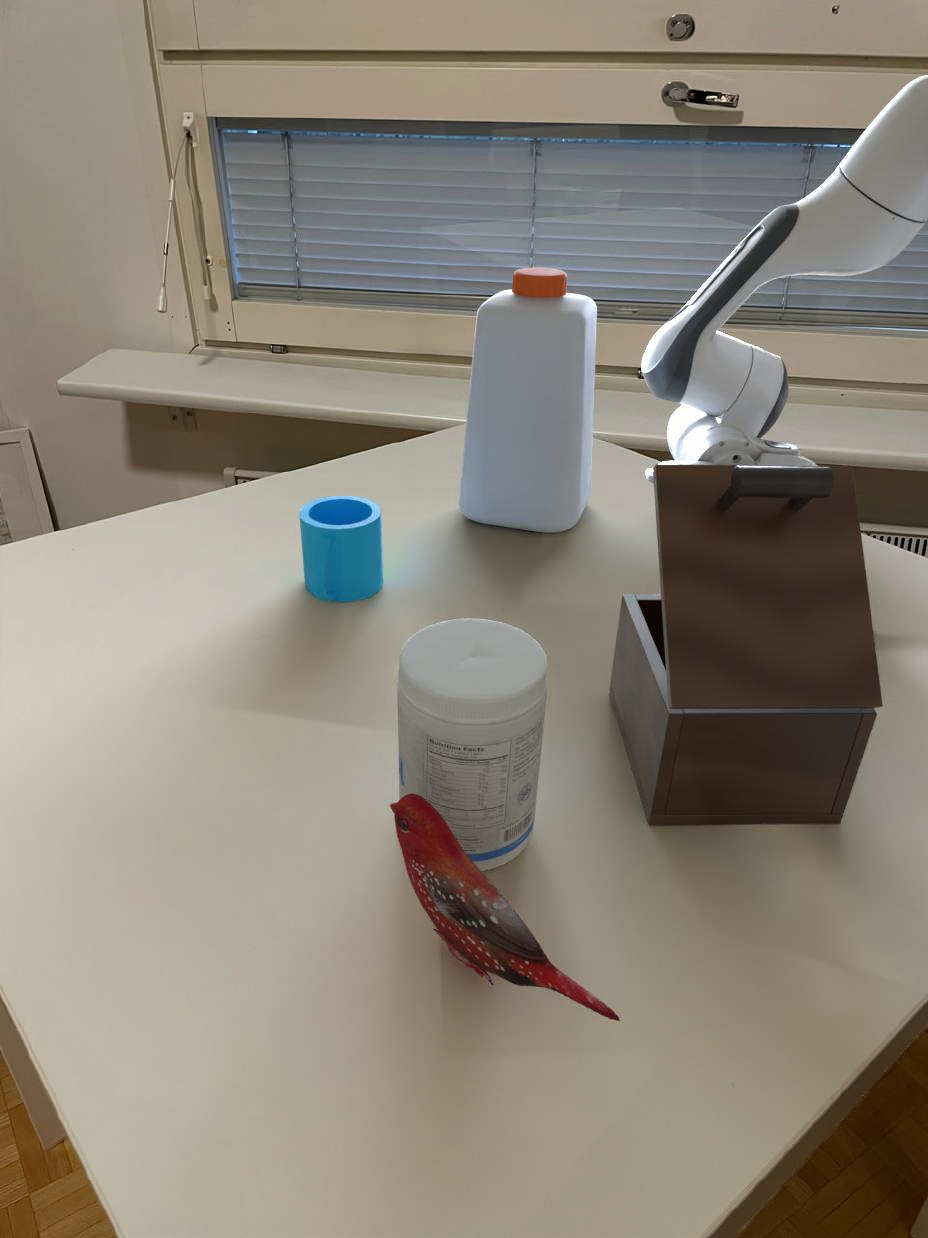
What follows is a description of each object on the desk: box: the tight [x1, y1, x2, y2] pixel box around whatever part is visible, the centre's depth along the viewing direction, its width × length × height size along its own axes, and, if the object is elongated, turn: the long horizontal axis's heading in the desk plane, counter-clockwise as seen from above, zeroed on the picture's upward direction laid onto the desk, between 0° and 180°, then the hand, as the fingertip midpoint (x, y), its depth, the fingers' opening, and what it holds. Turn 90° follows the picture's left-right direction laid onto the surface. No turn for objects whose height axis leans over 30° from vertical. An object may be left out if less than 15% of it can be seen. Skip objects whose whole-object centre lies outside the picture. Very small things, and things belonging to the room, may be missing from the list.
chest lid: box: [652, 463, 884, 709], centre depth 57 cm, size 17×14×6 cm
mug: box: [298, 495, 384, 603], centre depth 88 cm, size 12×8×8 cm
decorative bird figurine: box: [389, 793, 621, 1022], centre depth 48 cm, size 3×18×10 cm, turn 43°
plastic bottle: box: [458, 267, 598, 534], centre depth 102 cm, size 15×15×28 cm
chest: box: [608, 593, 878, 826], centre depth 67 cm, size 16×14×10 cm
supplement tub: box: [396, 617, 549, 872], centre depth 58 cm, size 10×10×15 cm
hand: (761, 514), depth 96 cm, fingers open, 8 cm apart
